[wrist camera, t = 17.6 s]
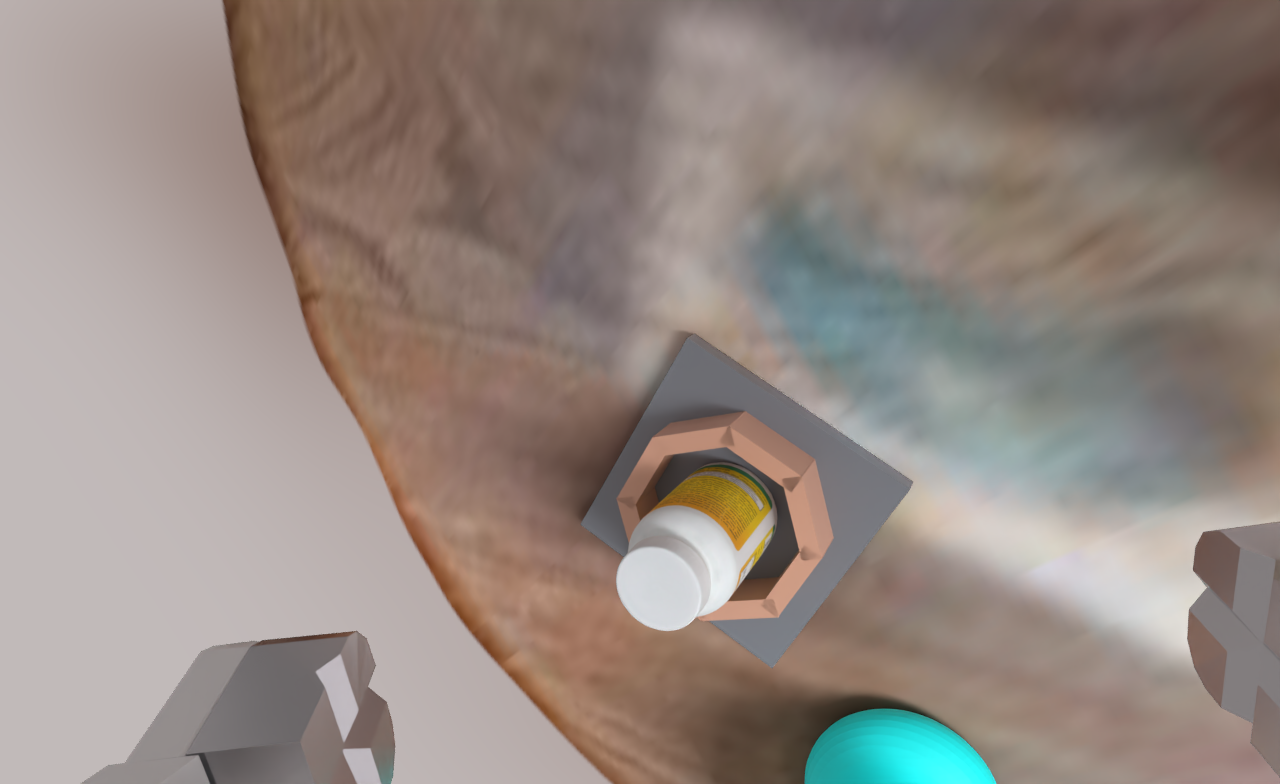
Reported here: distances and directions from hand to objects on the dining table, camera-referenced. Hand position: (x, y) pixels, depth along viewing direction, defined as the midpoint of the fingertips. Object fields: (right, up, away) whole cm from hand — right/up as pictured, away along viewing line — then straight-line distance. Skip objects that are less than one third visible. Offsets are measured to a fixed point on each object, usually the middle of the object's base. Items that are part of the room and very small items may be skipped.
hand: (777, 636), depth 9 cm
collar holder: (+4, -3, +40) cm, 41 cm away
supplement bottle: (+3, -4, +40) cm, 40 cm away
